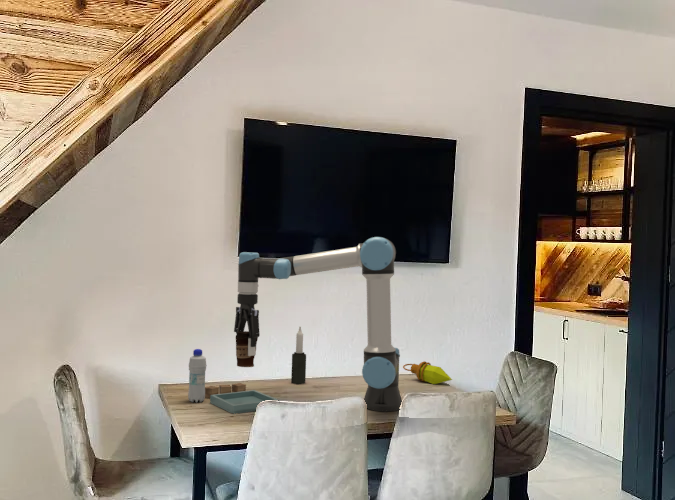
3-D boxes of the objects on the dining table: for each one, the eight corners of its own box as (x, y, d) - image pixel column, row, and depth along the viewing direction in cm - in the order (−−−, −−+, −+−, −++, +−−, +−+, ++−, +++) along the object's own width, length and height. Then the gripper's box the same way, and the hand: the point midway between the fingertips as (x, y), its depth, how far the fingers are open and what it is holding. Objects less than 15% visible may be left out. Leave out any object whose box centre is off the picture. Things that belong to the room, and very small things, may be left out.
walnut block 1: (218, 397, 266) (218, 387, 266) (211, 399, 262) (212, 388, 262) (210, 395, 268) (210, 385, 268) (203, 397, 264) (204, 387, 264)
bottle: (196, 404, 253) (198, 351, 253) (183, 401, 256) (185, 349, 256) (209, 401, 258) (210, 348, 258) (196, 398, 262) (197, 347, 262)
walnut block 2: (231, 396, 267) (231, 386, 267) (221, 397, 266) (221, 387, 266) (229, 394, 271) (229, 384, 271) (219, 395, 270) (219, 385, 270)
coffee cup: (252, 369, 248) (253, 334, 248) (230, 367, 250) (232, 332, 249) (259, 365, 257) (260, 331, 256) (239, 363, 258) (240, 329, 258)
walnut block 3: (245, 394, 272) (245, 384, 272) (237, 395, 269) (238, 385, 269) (239, 392, 275) (239, 382, 275) (231, 394, 272) (231, 384, 272)
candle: (306, 383, 297) (308, 326, 297) (298, 384, 293) (299, 327, 293) (298, 381, 301) (300, 325, 300) (290, 382, 297) (291, 326, 297)
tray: (279, 407, 251) (279, 399, 251) (233, 414, 240) (233, 405, 240) (254, 397, 267) (254, 390, 267) (210, 402, 255) (210, 395, 255)
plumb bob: (456, 385, 306) (408, 371, 320) (457, 366, 303) (409, 353, 317) (447, 392, 299) (398, 378, 313) (448, 374, 296) (399, 360, 310)
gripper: (270, 295, 247) (268, 357, 247) (243, 291, 264) (241, 349, 264) (252, 295, 242) (250, 358, 242) (226, 291, 259) (224, 350, 259)
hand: (245, 353), depth 253 cm, fingers closed on coffee cup, 8 cm apart
